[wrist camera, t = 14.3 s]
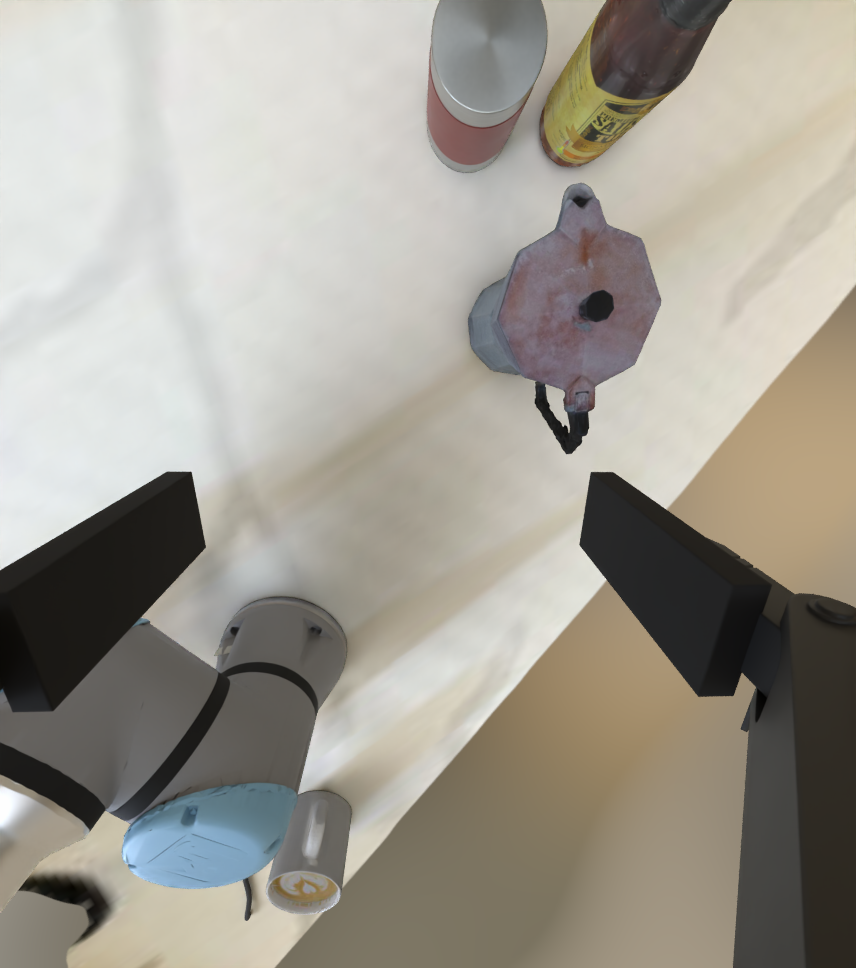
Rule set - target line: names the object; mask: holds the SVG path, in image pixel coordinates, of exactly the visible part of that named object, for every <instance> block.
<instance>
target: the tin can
mask: <svg viewBox="0 0 856 968" xmlns="http://www.w3.org/2000/svg"><path fill="white" fill-rule="evenodd" d="M546 47H547V21H546V15H545V11H544V7H543V4H542V1H541V0H440V1H439V4H438V6H437V9H436V12H435V16H434V20H433V26H432V35H431V47H430V58H429V78H428V98H427V131H428V137H429V140H430V143H431V146H432V148H433V150H434V152H435V154H436V155H437V157H438V158H439V159H440V160H441V161H442V162H443V163H444V164H445V165H446V166H448V167H449V168H451V169H453V170H455V171H459V172H465V173H469V172H475V171H479V170H481V169H483V168H485V167H487V166H488V165H489V164H491V163H492V162H493V161H494V160H495V159H496V157H497V156H498V155H499V153H500V152H501V150H502V148H503V146H504V145H505V143H506V141H507V140H508V138H509V136H510V134H511V132H512V130H513V128H514V126H515V124H516V122H517V120H518V118H519V116H520V114H521V112H522V110H523V108H524V106H525V104H526V102H527V100H528V98H529V96H530V93H531V91H532V89H533V86H534V84H535V82H536V80H537V78H538V75H539V73H540V71H541V68H542V65H543V62H544V58H545V54H546Z"/></svg>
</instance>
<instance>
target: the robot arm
mask: <svg viewBox="0 0 856 968" xmlns="http://www.w3.org/2000/svg"><path fill="white" fill-rule="evenodd" d="M579 545H580V546H581V548H582V549H583V550H584V551H585V553H586V554H587V555H588V557H589V558H590V559H591V560H592V562H593V563H594V564H595V565H596V567H597V568H598V569H599V571H600V572H601V573H602V574H603V576H604V577H605V578H606V579H607V581H608V582H609V583H610V585H611V586H612V587H613V588H614V590H615V591H616V592H617V593H618V595H619V596H620V597H621V599H622V600H623V601H624V602H625V604H626V605H627V606H628V608H629V609H630V610H631V611H632V613H633V614H634V615H635V616H636V618H637V619H638V620H639V621H640V623H641V624H642V625H643V627H644V628H645V629H646V630H647V632H648V633H649V634H650V636H651V637H652V638H653V639H654V641H655V642H656V643H657V644H658V646H659V647H660V648H661V649H662V651H663V652H664V653H665V655H666V656H667V657H668V658H669V660H670V661H671V662H672V663H673V665H674V666H675V667H676V669H677V670H678V671H679V672H680V674H681V675H682V676H683V678H684V679H685V680H686V681H687V682H688V684H689V685H690V687H691V688H692V689H693V690H694V692H695V693H696V694H697V695H698V697H703V696H705V697H707V696H733V695H734V693H735V690H736V687H737V685H738V682H739V678H740V676H741V673H743V674H744V675H745V676H746V677H747V678H748V679H749V680H750V681H751V682H752V683H753V684H754V685H755V686H756V689H755V692H754V694H753V697H752V700H751V702H750V705H749V708H748V711H747V713H746V716H745V718H744V721H743V724H742V727H741V730H744V731H746V732H747V731H748V730H749V737H748V750H747V765H746V780H745V795H744V811H743V825H742V840H741V856H740V870H739V885H738V900H737V916H736V930H735V945H734V961H733V968H856V608H855V607H853V606H851V605H848V604H846V603H843V602H840V601H838V600H834V599H831V598H829V597H824V596H820V595H814V594H802V593H801V594H800V593H799V594H796V595H795V594H794V593H792V592H791V591H789V590H788V589H787V588H785V587H784V586H782V585H781V584H779V583H778V582H776V581H775V580H773V579H772V578H771V577H769V576H768V575H766V574H765V573H763V572H762V571H760V570H759V569H757V568H753V565H752V564H750V563H749V562H747V561H746V560H744V559H740V556H739V555H737V554H736V553H734V552H733V551H731V550H730V549H728V548H727V547H726V546H724V545H722V544H719V543H717V542H715V541H713V540H710V539H708V538H706V537H704V536H703V535H701V534H700V533H698V532H697V531H696V530H694V529H693V528H691V527H690V526H689V525H687V524H686V523H684V522H683V521H682V520H680V519H679V518H677V517H676V516H674V515H673V514H672V513H670V512H669V511H667V510H666V509H665V508H663V507H662V506H660V505H659V504H657V503H656V502H655V501H653V500H652V499H650V498H649V497H648V496H646V495H645V494H643V493H642V492H640V491H639V490H638V489H636V488H635V487H633V486H632V485H631V484H629V483H628V482H626V481H625V480H623V479H622V478H621V477H619V476H618V475H616V474H615V473H614V472H591V475H590V481H589V487H588V494H587V500H586V506H585V513H584V519H583V525H582V532H581V538H580V544H579ZM205 548H206V545H205V540H204V535H203V530H202V524H201V519H200V514H199V509H198V503H197V498H196V493H195V487H194V482H193V477H192V472H166V473H164V474H162V475H161V476H159V477H157V478H156V479H154V480H152V481H151V482H149V483H147V484H146V485H144V486H142V487H140V488H139V489H137V490H135V491H134V492H132V493H130V494H129V495H127V496H125V497H124V498H122V499H120V500H118V501H117V502H115V503H113V504H112V505H110V506H108V507H107V508H105V509H103V510H102V511H100V512H98V513H96V514H95V515H93V516H91V517H90V518H88V519H86V520H85V521H83V522H81V523H80V524H78V525H76V526H74V527H73V528H71V529H69V530H68V531H66V532H64V533H63V534H61V535H59V536H58V537H56V538H54V539H52V540H51V541H49V542H47V543H46V544H44V545H42V546H41V547H39V548H37V549H36V550H34V551H32V552H30V553H29V554H27V555H25V556H24V557H22V558H20V559H19V560H17V561H15V562H14V563H12V564H10V565H8V566H7V567H5V568H3V569H2V570H0V913H1V912H2V911H3V909H4V908H5V907H6V905H7V904H8V903H9V901H10V900H11V899H12V898H13V896H14V895H15V893H16V892H17V891H18V890H19V888H20V887H21V886H22V884H23V883H24V882H25V880H26V879H27V878H28V876H29V875H30V874H31V872H32V871H33V870H34V868H35V867H36V866H37V865H38V863H39V862H40V861H41V860H43V859H44V858H46V857H47V856H49V855H50V854H52V853H54V852H56V851H59V850H61V849H63V848H65V847H67V846H70V845H72V844H74V843H76V842H78V841H80V840H83V839H85V838H86V836H87V835H88V833H89V832H90V831H91V829H92V828H93V826H94V825H95V824H96V822H97V821H98V820H99V818H100V817H101V815H102V814H103V813H104V811H107V812H109V813H111V814H112V815H114V816H116V817H118V818H120V819H122V820H124V821H126V822H128V823H129V824H131V825H130V826H129V828H128V830H127V832H126V834H125V835H124V843H123V847H122V858H123V861H124V862H125V864H128V867H129V869H130V871H131V872H132V873H134V874H135V875H137V876H138V877H140V878H142V879H144V880H146V881H149V882H152V883H155V884H159V885H163V886H168V887H173V888H185V889H201V888H210V887H218V886H224V885H228V884H232V883H235V882H238V881H241V880H243V883H244V887H245V890H246V896H247V905H246V912H245V920H246V921H247V920H249V918H250V916H251V914H250V910H251V903H252V894H251V888H250V884H249V881H248V877H250V876H251V875H253V874H255V873H257V872H258V871H260V870H261V869H263V868H264V867H265V866H266V865H267V864H268V863H269V862H270V861H271V860H272V859H273V858H274V857H275V856H276V854H277V853H278V851H279V849H280V848H281V846H282V843H283V841H284V838H285V835H286V832H287V829H288V826H289V823H290V820H291V817H292V814H293V811H294V809H295V808H296V804H297V800H298V799H297V796H298V795H297V794H298V790H299V786H300V782H301V778H302V774H303V770H304V766H305V761H306V757H307V753H308V749H309V745H310V741H311V737H312V733H313V729H314V725H315V720H316V716H317V713H318V710H319V708H320V707H321V705H322V704H323V702H324V701H325V700H326V698H327V697H328V695H329V694H330V692H331V691H332V689H333V688H334V686H335V685H336V683H337V682H338V680H339V678H340V676H341V674H342V671H343V669H344V665H345V660H346V656H347V644H346V639H345V636H344V633H343V631H342V629H341V628H340V626H339V625H338V623H337V622H336V621H335V620H334V619H333V618H332V617H331V616H330V615H329V614H328V613H327V612H325V611H324V610H322V609H321V608H319V607H317V606H315V605H313V604H311V603H309V602H306V601H303V600H299V599H294V598H287V597H273V598H266V599H262V600H259V601H256V602H253V603H251V604H249V605H247V606H245V607H244V608H242V609H241V610H240V611H239V612H238V613H237V614H236V615H235V616H234V617H233V618H232V620H231V621H230V623H229V624H228V626H227V628H226V630H225V631H224V634H223V636H222V639H221V642H220V646H219V649H218V650H217V652H216V654H215V655H214V656H217V655H218V659H217V666H216V669H214V668H213V667H211V666H210V665H208V664H207V663H205V662H204V661H202V660H201V659H200V658H198V657H197V656H195V655H194V654H192V653H191V652H189V651H188V650H186V649H185V648H184V647H182V646H181V645H179V644H178V643H177V642H175V641H174V640H172V639H171V638H169V637H168V636H167V635H165V634H164V633H162V632H161V631H160V630H158V629H157V628H155V627H154V626H153V625H151V624H150V621H149V620H148V619H143V618H142V619H141V617H142V616H143V614H144V613H145V612H146V611H147V610H148V609H149V608H150V607H151V606H152V605H153V604H154V603H155V602H156V600H157V599H158V598H159V597H160V596H161V595H162V594H163V593H164V592H165V591H166V590H167V589H168V588H169V586H170V585H171V584H172V583H173V582H174V581H175V580H176V579H177V578H178V577H179V576H180V575H181V574H182V573H183V571H184V570H185V569H186V568H187V567H188V566H189V565H190V564H191V563H192V562H193V561H194V560H195V559H196V557H197V556H198V555H199V554H200V553H201V552H202V551H203V550H204V549H205Z"/></svg>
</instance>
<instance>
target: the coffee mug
mask: <svg viewBox="0 0 856 968" xmlns="http://www.w3.org/2000/svg"><path fill="white" fill-rule="evenodd" d="M297 799H298V800H297V804H296V808H295V809H294V811H293V814H292V817H291V820H290V823H289V826H288V829H287V832H286V835H285V838H284V841H283V843H282V846H281V848H280V849H279V851H278V853H277V854H276V856H275V857H274V860H273V864H272V868H271V872H270V875H269V879H268V883H267V887H266V895H267V898H268V899H269V901H270V902H271V903H272V904H273V905H274V906H276V907H277V908H279V909H281V910H284V911H287V912H290V913H295V914H315V913H320V912H323V911H326V910H328V909H330V908H332V907H333V906H334V905H336V904H337V902H338V901H339V899H340V896H341V891H342V884H343V876H344V868H345V861H346V853H347V846H348V838H349V830H350V823H351V815H352V811H351V807H350V805H349V804H348V802H347V801H346V800H345V799H343V798H342V797H340V796H339V795H336V794H334V793H331V792H326V791H310V792H305V793H302V794H300V795H298V796H297Z"/></svg>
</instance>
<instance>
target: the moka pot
mask: <svg viewBox="0 0 856 968" xmlns="http://www.w3.org/2000/svg"><path fill="white" fill-rule="evenodd" d="M660 305H661V297H660V295H659V292H658V289H657V286H656V282H655V279H654V276H653V273H652V270H651V267H650V263H649V260H648V257H647V254H646V250H645V246H644V243H643V241H642V240H641V238H639V237H637V236H635V235H632V234H630V233H628V232H625V231H622V230H619V229H616V228H614V227H612V226H610V225H608V224H607V223H606V221H605V218H604V215H603V212H602V209H601V206H600V202H599V200H598V199H597V198H596V197H595V195H594V193H593V191H592V189H591V188H590V187H589V186H587V185H586V184H584V183H578V184H573V185H571V186H569V187H568V188H567V189H566V191H565V193H564V196H563V200H562V206H561V211H560V215H559V219H558V222H557V225H556V228H555V230H553V231H552V232H550V233H549V234H547V235H546V236H544V237H542V238H541V239H539V240H537V241H535V242H534V243H532V244H530V245H528V246H527V247H525V248H523V249H522V250H520V251H519V252H518V253H517V255H516V257H515V259H514V262H513V264H512V266H511V269H510V270H509V272H508V274H507V276H506V277H505V278H503V279H501V280H499V281H497V282H495V283H494V284H492V285H490V286H489V287H487V288H485V289H484V290H483V291H482V292H481V294H480V295H479V297H478V299H477V301H476V303H475V305H474V306H473V309H472V311H471V313H470V315H469V318H468V326H469V334H470V343H471V347H472V349H473V351H474V352H475V354H476V355H477V356H478V357H479V358H480V359H481V360H482V361H483V362H484V363H485V364H486V365H487V366H488V367H489V368H490V369H491V370H493V371H498V372H503V373H509V374H515V375H520V374H521V375H522V376H523V377H524V378H528V379H531V380H534V381H537V382H535V384H536V386H535V389H536V395H535V396H536V398H535V404H536V408H538V409H539V410H540V412H541V413H542V416H543V418H544V419H545V420H546V421H547V423H548V425H549V427H550V428H551V430H553V433H554V435H555V436H556V439H557V440H558V441H559V443H560V445H561V447H562V449H563V450H564V451H565V453H566V454H572V453H573V451H575V450H576V448H577V447H578V446H580V444H581V443H582V436H586V435H587V433H588V429H589V418H588V412H589V411H591V410H593V409H594V407H595V386H597V385H598V384H600V383H602V382H604V381H606V380H608V379H609V378H611V377H613V376H615V375H617V374H619V373H621V372H623V371H625V370H627V369H628V368H630V367H632V366H633V365H635V363H636V361H637V358H638V356H639V354H640V352H641V349H642V347H643V344H644V342H645V340H646V338H647V336H648V333H649V331H650V329H651V327H652V324H653V322H654V319H655V317H656V314H657V312H658V310H659V307H660ZM545 384H547V385H550V386H553V387H556V388H559V389H562V390H563V391H564V392H565V397H564V399H563V401H564V410H565V411H566V412H567V414H568V419H569V424H570V433H568V428H567V426H566V425H564V427H563V426H562V424H561V422H560V421H558V420H557V419H556V417H555V416H554V414H553V412H552V411H551V410H550V408H549V407H550V405H549V403H548V401H547V396H546V387H545Z"/></svg>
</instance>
